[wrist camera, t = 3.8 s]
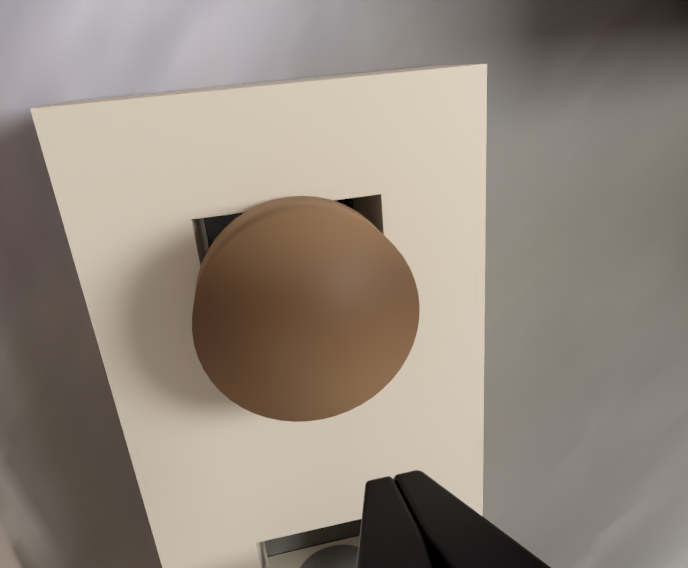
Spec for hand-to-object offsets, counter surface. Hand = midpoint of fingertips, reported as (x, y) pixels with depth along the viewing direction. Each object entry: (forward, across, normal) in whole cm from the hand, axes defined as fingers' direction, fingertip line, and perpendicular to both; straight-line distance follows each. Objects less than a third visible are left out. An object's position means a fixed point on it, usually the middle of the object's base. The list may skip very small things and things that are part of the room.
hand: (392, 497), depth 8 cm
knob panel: (+12, 0, +5) cm, 13 cm away
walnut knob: (+11, 0, 0) cm, 11 cm away
